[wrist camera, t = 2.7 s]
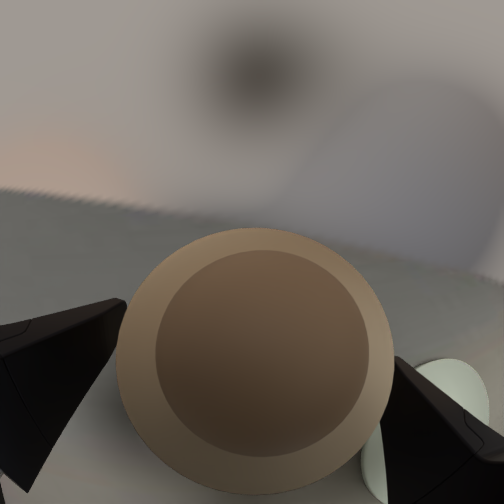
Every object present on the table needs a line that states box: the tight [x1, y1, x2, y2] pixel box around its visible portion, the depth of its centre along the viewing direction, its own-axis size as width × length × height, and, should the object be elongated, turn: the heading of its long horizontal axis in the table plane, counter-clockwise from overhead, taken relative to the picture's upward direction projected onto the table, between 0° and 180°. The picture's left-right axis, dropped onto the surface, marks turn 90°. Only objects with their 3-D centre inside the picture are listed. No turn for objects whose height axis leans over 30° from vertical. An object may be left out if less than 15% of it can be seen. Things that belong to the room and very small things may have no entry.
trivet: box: [361, 359, 489, 504], centre depth 12 cm, size 11×11×1 cm
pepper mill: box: [116, 228, 394, 495], centre depth 8 cm, size 4×4×14 cm
